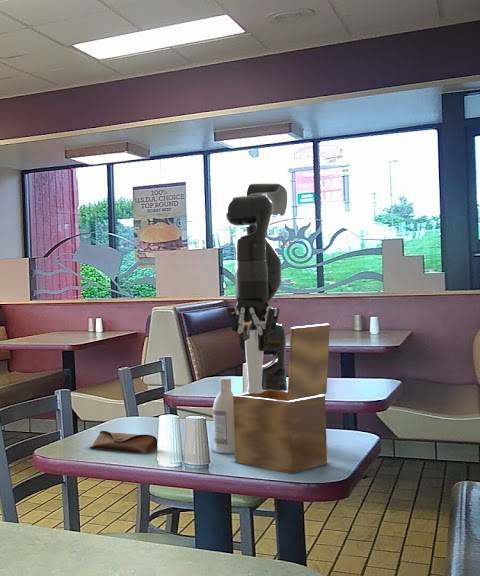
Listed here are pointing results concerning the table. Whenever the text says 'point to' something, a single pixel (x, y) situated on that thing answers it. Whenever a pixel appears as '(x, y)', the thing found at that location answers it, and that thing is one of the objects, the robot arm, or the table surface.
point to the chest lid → (308, 361)
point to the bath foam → (224, 419)
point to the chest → (280, 431)
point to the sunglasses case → (125, 442)
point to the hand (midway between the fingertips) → (253, 349)
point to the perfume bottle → (254, 363)
